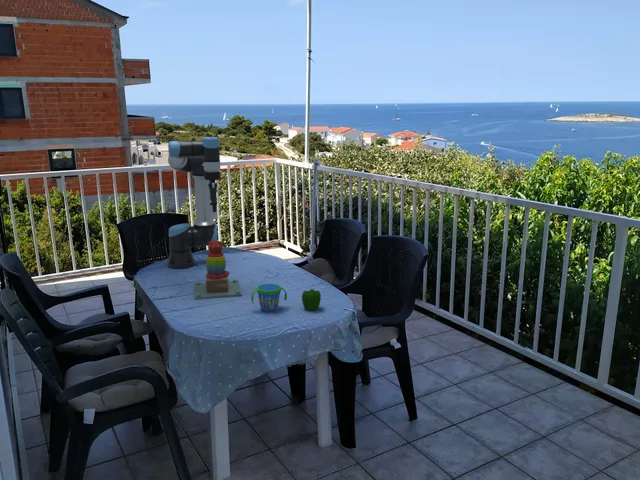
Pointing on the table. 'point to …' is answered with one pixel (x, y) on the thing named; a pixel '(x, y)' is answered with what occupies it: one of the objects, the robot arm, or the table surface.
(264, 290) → the snack cup
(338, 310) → the table surface
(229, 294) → the base plate
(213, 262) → the stacking bear
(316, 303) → the bell pepper
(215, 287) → the walnut brick
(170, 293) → the table surface
